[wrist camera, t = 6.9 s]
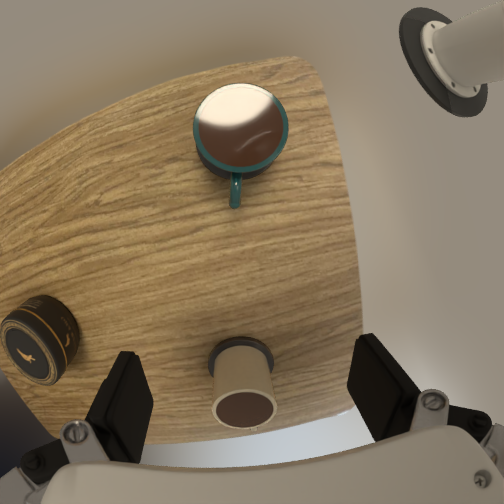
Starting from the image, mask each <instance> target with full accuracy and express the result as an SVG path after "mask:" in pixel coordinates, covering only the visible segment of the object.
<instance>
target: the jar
mask: <svg viewBox="0 0 504 504" xmlns="http://www.w3.org/2000/svg"><path fill="white" fill-rule="evenodd" d="M0 338H1V342H2V345H3V348H4V350H5V352H6V354H7V356H8V358H9V359H10V361H11V362H12V363H13V365H14V366H15V367H16V368H17V369H18V370H19V371H20V372H21V373H22V374H23V375H24V376H25V377H27V378H28V379H30V380H31V381H33V382H35V383H37V384H40V385H45V386H49V385H53V384H55V383H56V382H57V381H58V380H59V379H60V377H61V376H62V375H63V374H64V372H65V371H66V368H67V366H68V365H69V363H70V362H71V361H72V359H73V358H74V356H75V354H76V352H77V349H78V345H79V331H78V328H77V325H76V322H75V320H74V318H73V316H72V315H71V313H70V312H69V311H68V310H67V308H66V307H65V306H64V305H62V304H61V303H60V302H59V301H57V300H55V299H53V298H51V297H49V296H44V295H41V296H36V297H33V298H30V299H28V300H27V301H25V302H24V303H23V304H22V305H20V306H19V307H18V308H17V309H15V310H13V311H12V312H11V313H10V314H9V315H8V316H7V317H6V318H5V319H4V320H3V321H2V323H1V326H0Z"/></svg>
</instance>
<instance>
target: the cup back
mask: <svg viewBox="0 0 504 504" xmlns="http://www.w3.org/2000/svg"><path fill="white" fill-rule="evenodd" d="M276 412H277V402H276V397H275V393H274V388H273V383H272V379H271V374H270V369H269V365H268V360H267V358H266V356H265V355H264V354H263V353H262V352H261V351H260V350H258V349H256V348H254V347H250V346H243V345H242V346H233V347H230V348H227V349H225V350H224V351H222V352H221V353H220V354H219V355H218V356H217V358H216V359H215V362H214V373H213V394H212V413H213V416H214V417H215V419H216V420H217V421H218V422H220V423H221V424H223V425H225V426H227V427H231V428H235V429H251V431H257V429H258V427H259V426H261V425H264V424H266V423H267V422H269V421H270V420H271V419H272V418H273V417H274V416H275V414H276Z"/></svg>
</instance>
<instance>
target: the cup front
mask: <svg viewBox="0 0 504 504" xmlns="http://www.w3.org/2000/svg"><path fill="white" fill-rule="evenodd" d="M193 135H194V139H195V142H196V145H197V147H198V149H199V151H200V152H201V154H202V155H203V156H204V157H205V158H206V159H207V160H208V161H209V162H210V163H212V164H213V165H215V166H216V167H218V168H220V169H222V170H225V171H228V172H231V174H230V189H229V206H230V207H231V208H232V209H237V208H239V207H240V205H241V193H242V179H243V173H245V172H252V171H255V170H258V169H261V168H263V167H265V166H267V165H268V164H270V163H271V162H272V161H273V160H274V159H276V158H277V156H278V155H279V154H280V153H281V151H282V150H283V148H284V146H285V143H286V141H287V137H288V118H287V115H286V112H285V110H284V108H283V106H282V104H281V103H280V102H279V100H278V99H277V98H276V97H275V96H274V95H273V94H272V93H270V92H269V91H267V90H266V89H264V88H262V87H259V86H257V85H253V84H248V83H234V84H229V85H225V86H222V87H220V88H218V89H216V90H214V91H213V92H211V93H210V94H209V95H208V96H207V97H206V98H205V99H204V100H203V101H202V102H201V104H200V105H199V107H198V109H197V111H196V114H195V117H194V122H193Z"/></svg>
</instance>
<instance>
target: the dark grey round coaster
mask: <svg viewBox="0 0 504 504" xmlns="http://www.w3.org/2000/svg"><path fill="white" fill-rule="evenodd" d="M242 345H243V346H250V347H254V348H256V349H258V350H260V351H261V352H262V353H263V354H264V355H265V356H266V358H267V360H268V365H269V369H270V374H271V373H272V370H273V366H274V361H273V356H272V353H271V351H270V349H269V348H268V347H267V346H266V345H265V344H264V343H262V342H261V341H259V340H257V339H254V338H250V337H233V338H229V339H226V340H224V341H222V342H220V343H219V344H217V345H216V346H215V347H214V348H213V350H212V351H211V353H210V355H209V360H208V369H209V372H210V374H211V376H212V377H213V373H214V362H215V359H216V358H217V356H218V355H219V354H220V353H221V352H222V351H224V350H225V349H227V348H230V347H233V346H242Z"/></svg>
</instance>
